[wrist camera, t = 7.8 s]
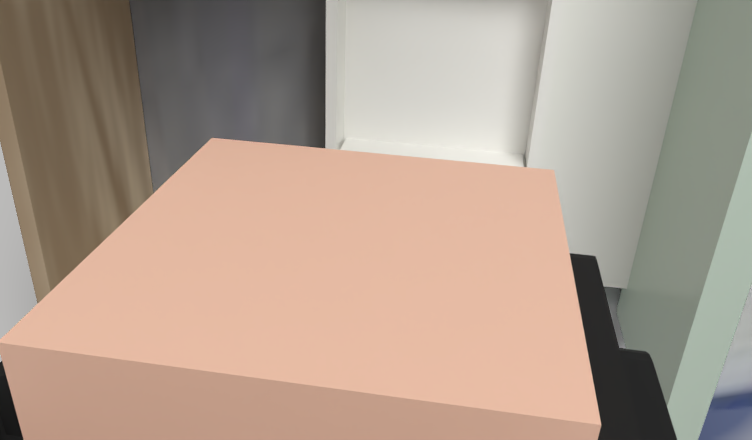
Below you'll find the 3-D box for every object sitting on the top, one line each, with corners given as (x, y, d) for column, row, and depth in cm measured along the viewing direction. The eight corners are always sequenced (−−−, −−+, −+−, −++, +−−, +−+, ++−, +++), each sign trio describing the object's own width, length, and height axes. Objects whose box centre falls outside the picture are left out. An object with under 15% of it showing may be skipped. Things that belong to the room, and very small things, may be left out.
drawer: (806, -296, 20) (982, -386, 12) (644, 313, 29) (691, 457, 22) (343, -301, 21) (264, -385, 14) (336, 277, 31) (287, 400, 24)
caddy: (468, -270, 21) (453, -337, 14) (424, 271, 30) (401, 394, 23) (77, -277, 23) (-111, -340, 16) (147, 239, 32) (47, 345, 25)
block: (553, 170, 10) (600, 426, 5) (508, 434, 12) (516, 765, 8) (211, 137, 10) (-4, 342, 6) (232, 395, 13) (88, 680, 8)
